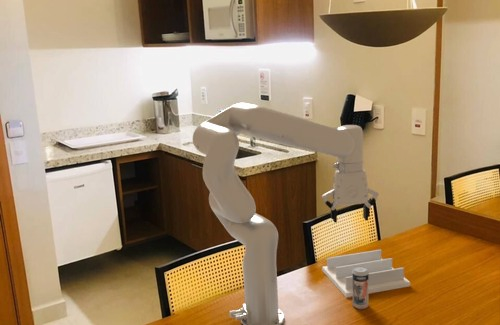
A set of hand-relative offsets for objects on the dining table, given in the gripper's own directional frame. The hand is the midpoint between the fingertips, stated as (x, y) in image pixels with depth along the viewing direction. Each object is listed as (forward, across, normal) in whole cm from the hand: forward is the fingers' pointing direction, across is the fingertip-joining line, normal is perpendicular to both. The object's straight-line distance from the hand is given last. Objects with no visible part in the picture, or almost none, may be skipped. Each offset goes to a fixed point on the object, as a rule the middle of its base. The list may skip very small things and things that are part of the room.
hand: (350, 219), depth 161 cm
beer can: (+24, +1, -10) cm, 26 cm away
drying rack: (+24, +6, +7) cm, 25 cm away
